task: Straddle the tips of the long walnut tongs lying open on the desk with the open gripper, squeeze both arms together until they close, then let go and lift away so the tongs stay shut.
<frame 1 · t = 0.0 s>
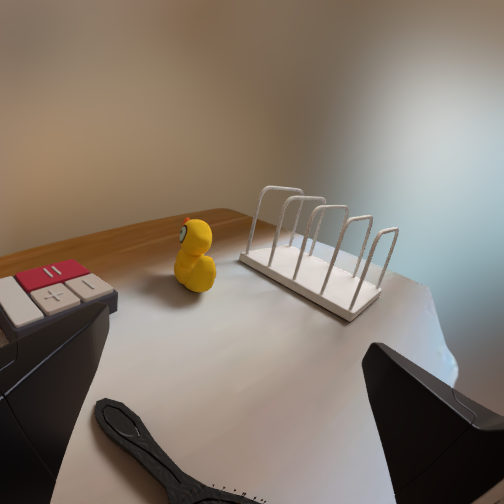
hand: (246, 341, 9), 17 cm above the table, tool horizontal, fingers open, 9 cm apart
file sorter: (311, 281, 58), on the table
calculator: (50, 313, 30), on the table
duckling: (190, 285, 45), on the table
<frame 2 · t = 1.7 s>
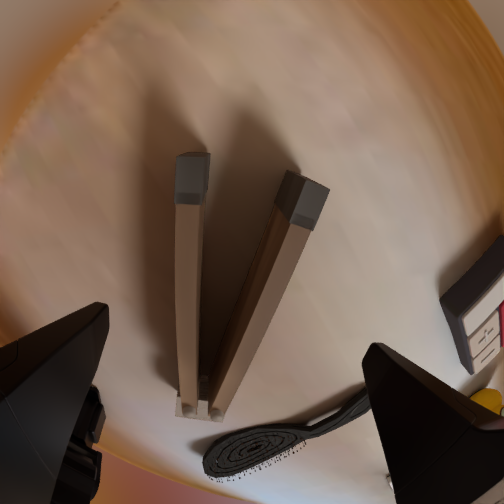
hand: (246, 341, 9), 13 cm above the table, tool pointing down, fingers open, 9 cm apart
tong arm 1: (252, 311, 20), point 3 cm above the table, hinge at 7.0°
tong hinge block: (201, 385, 26), on the table
tong arm 2: (189, 301, 19), point 3 cm above the table, hinge at 7.0°
calculator: (480, 304, 27), on the table
hairbrush: (291, 425, 31), on the table
duckling: (474, 394, 35), on the table
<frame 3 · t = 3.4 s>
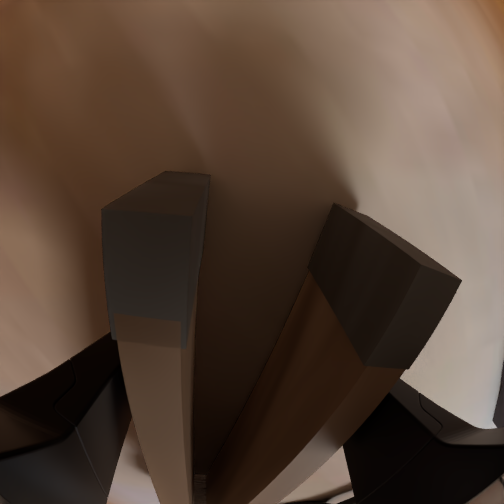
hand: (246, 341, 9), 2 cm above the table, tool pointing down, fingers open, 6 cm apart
tong arm 1: (267, 447, 10), point 3 cm above the table, hinge at 5.2°, touching gripper
tong hinge block: (197, 481, 16), on the table
tong arm 2: (174, 439, 9), point 3 cm above the table, hinge at 5.3°, touching gripper
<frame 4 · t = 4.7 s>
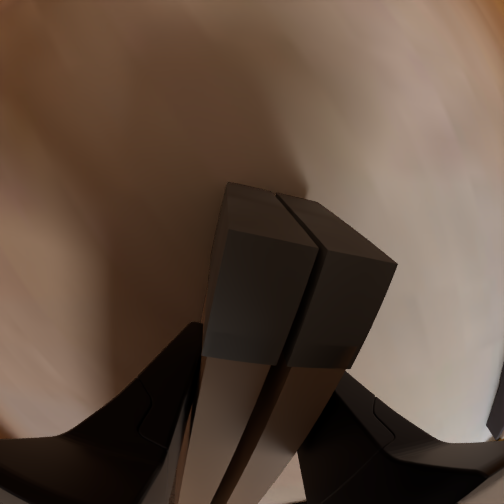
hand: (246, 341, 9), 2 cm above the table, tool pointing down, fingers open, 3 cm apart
tong arm 1: (243, 448, 10), point 3 cm above the table, hinge at -0.7°, touching gripper
tong hinge block: (197, 482, 16), on the table
tong arm 2: (198, 444, 10), point 3 cm above the table, hinge at -0.7°, touching gripper
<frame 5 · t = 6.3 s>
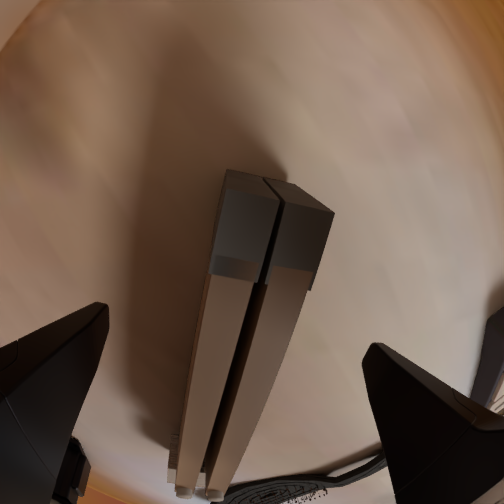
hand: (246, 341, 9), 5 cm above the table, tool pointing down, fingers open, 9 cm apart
tong arm 1: (238, 389, 13), point 3 cm above the table, hinge at -0.7°
tong hinge block: (198, 447, 20), on the table
tong arm 2: (201, 385, 13), point 3 cm above the table, hinge at -0.7°
hairbrush: (312, 474, 24), on the table
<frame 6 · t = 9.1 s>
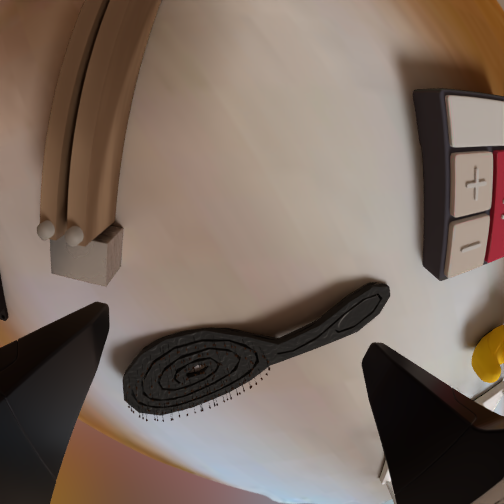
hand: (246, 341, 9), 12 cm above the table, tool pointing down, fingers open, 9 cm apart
file sorter: (441, 434, 38), on the table
tong arm 1: (112, 78, 13), point 3 cm above the table, hinge at -0.7°
tong hinge block: (95, 242, 20), on the table
tong arm 2: (86, 77, 13), point 3 cm above the table, hinge at -0.7°
calculator: (463, 176, 21), on the table
hairbrush: (252, 342, 25), on the table
duckling: (488, 335, 28), on the table
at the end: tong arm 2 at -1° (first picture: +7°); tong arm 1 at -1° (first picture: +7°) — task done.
